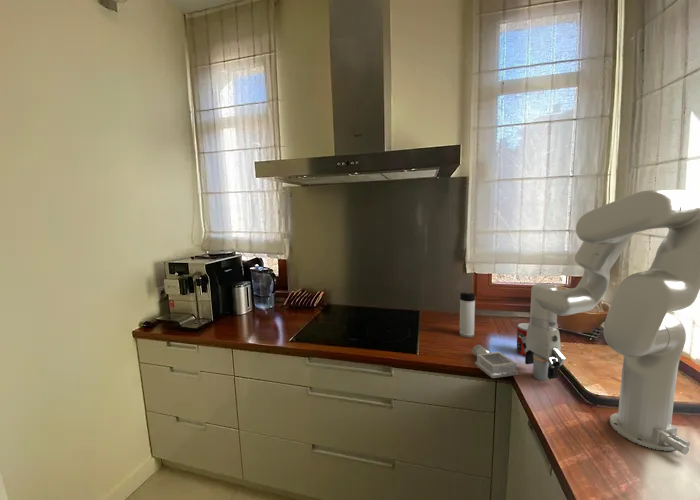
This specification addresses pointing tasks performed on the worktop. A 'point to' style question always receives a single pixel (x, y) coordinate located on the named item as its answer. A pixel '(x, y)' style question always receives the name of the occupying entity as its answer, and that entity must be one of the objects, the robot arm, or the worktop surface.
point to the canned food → (521, 333)
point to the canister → (540, 367)
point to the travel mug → (467, 314)
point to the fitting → (494, 363)
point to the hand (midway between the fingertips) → (540, 370)
